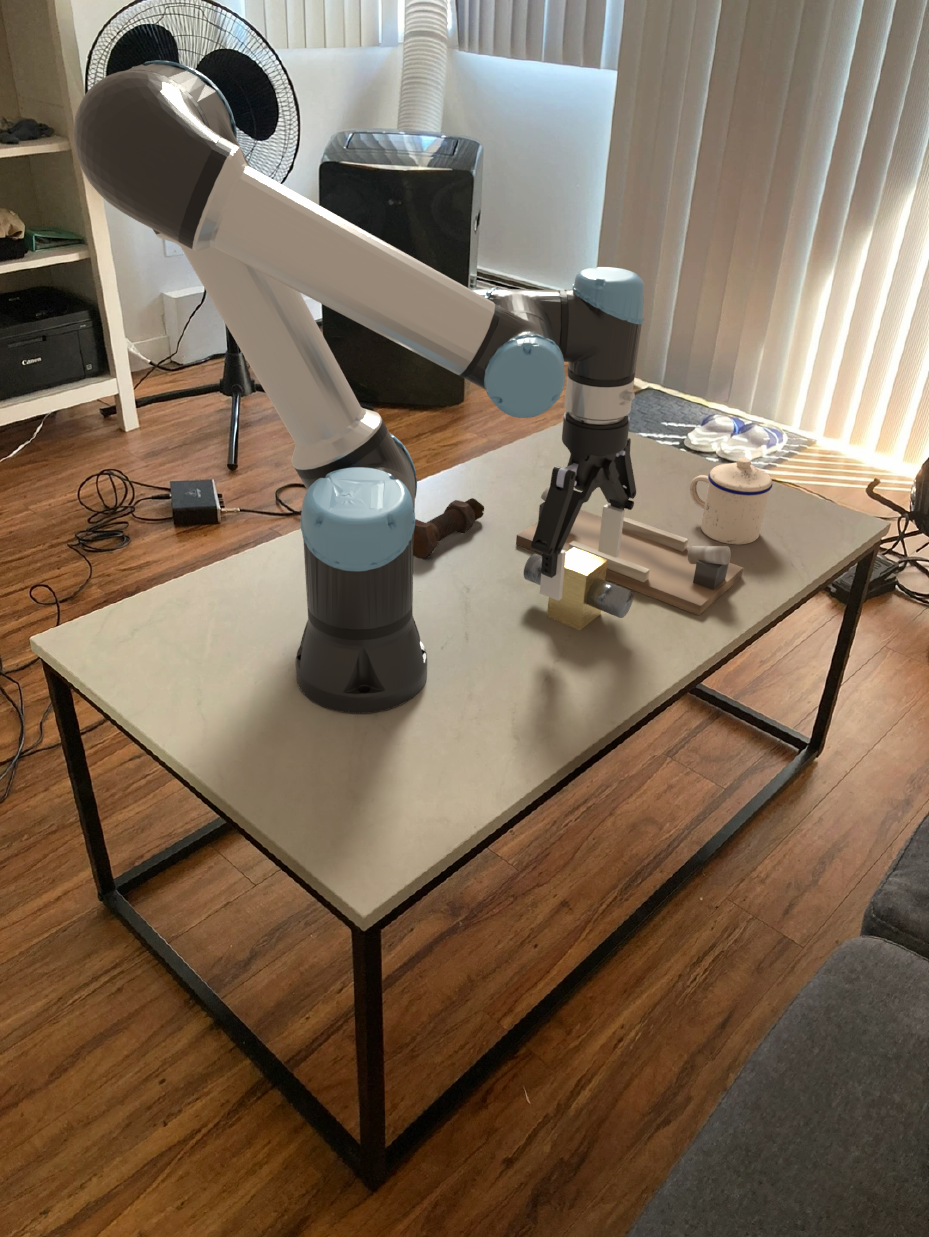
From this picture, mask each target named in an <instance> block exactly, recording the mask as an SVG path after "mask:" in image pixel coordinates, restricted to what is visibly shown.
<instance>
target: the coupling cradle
mask: <svg viewBox="0 0 929 1237" xmlns="http://www.w3.org/2000/svg"><path fill="white" fill-rule="evenodd" d="M549 488H550V485H548V486H546V488H545V489H544V490H543V492H542V493H541V496H540V499H541V500H543V501H544V502H542V503H540V504H539V508H538V509H539V510H538V518H537V520H538V521H537V522H535V523H533V524H531V526H529V527H527V528H525V529H524V530H522V531H521V532H519V533H517V534H516V540H515V541H516V542H515V544H516V545H517V546H519V547H522V548H525V549H528V550H530V551H533V552H536V553H538V554H539V555H540V554H541V555H542V552H539V551H536V550H534V549H532V548H531V544H532V541H533V537H534V534H535V531H536V528H537V525H538V522H539V519H540V516H541V513H542V510H543V506H544V503H545V500H546V497H547V494H548V491H549ZM601 521H602V516H599V515H597V514H594V513H591V512H588V511H585V510H583V509H580V511H579V513H578V515H577V518H576V520H575V522H574V524H573V527H572V529H571V531H570V533H569V535H568V538H567V540H566V542H565V544H564V546H563V549H562V550H565V551H566V552H568V551H569V550H571V549H572V548H573V547H574V548H577V549H580V550H582V551H585V552H588V553H590V554H593V555H596V556H598V557H601V558H603V559H606V560H608V562H607V570H606V577H605V580H607V581H608V582H609V581H610V582H612V583H613V584H616V585H618V586H621V587H624V588H626V589H629V590H631V591H635V592H637V593H640V594H642V595H645V596H648V597H651V598H653V599H656V600H658V601H661V602H663V603H666V604H668V605H671V606H674V607H676V608H679V609H681V610H683V611H686V612H689V613H691V614H693V615H697V616H701V615H702V613H704V612H706V610H708V608H709V607H710V606H712V604H714V603H715V602H716V601H717V600H718V599H719V598H720V597H721V596H722V595H723V594H725V593H726V591H728V590H729V589H730V588H731V587H732V586H733V585H734V584H735V583H736V582H738V581H739V580H740V579H741V578H742V575H743V571H744V567H743V566H739V565H737V564H734V563H732V562H730V560H731V557H732V555H731V554H732V553H731V549H730V547H729V546H727V545H719V546H718V545H692V546H690V547H688V542H689V538H686V537H684V536H681V535H678V534H675V533H671V532H669V531H667V530H663V529H660V528H658V527H654V526H652V525H649V524H647V523H644V522H641V521H637V520H635V519H632V518H629V517H626V516H624V520H623V528H622V536H621V544H620V552H619V556H618V557H616V558H615V557H613V556H610V555H607V554H605V553H602V552H599V551H598V547H599V538H600V529H601Z"/></svg>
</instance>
